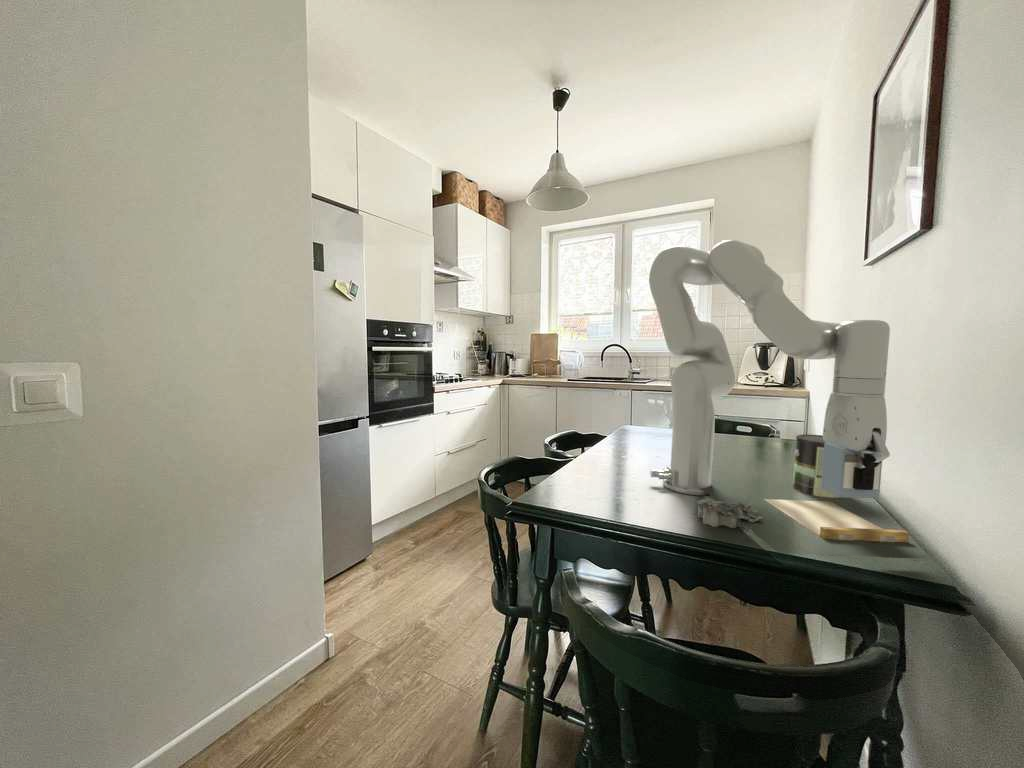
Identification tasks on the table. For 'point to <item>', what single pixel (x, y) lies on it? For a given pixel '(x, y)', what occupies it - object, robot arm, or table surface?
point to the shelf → (836, 521)
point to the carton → (845, 473)
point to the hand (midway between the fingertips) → (850, 483)
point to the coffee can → (809, 465)
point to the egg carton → (726, 513)
